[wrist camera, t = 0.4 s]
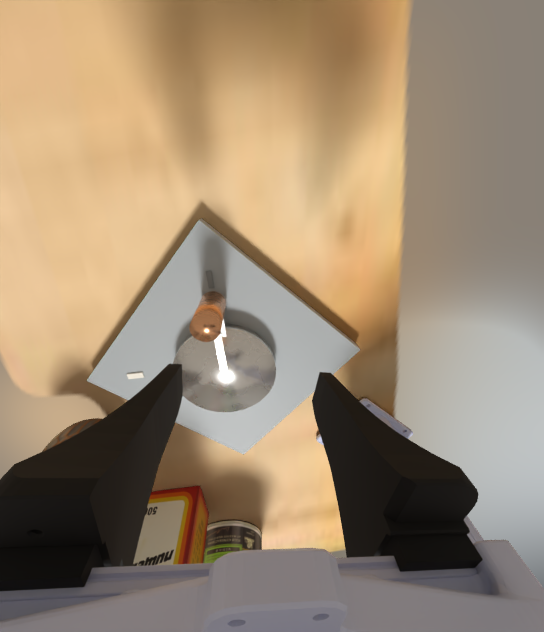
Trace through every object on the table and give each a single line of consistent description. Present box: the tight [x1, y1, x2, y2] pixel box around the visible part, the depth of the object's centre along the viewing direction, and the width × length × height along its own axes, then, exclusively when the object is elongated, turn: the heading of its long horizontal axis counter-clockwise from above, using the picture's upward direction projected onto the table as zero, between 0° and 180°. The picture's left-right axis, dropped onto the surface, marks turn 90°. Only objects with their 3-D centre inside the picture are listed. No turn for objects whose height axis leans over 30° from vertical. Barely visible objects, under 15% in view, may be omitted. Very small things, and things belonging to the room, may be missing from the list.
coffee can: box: [203, 520, 262, 563], centre depth 33 cm, size 10×10×14 cm
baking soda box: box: [133, 486, 209, 566], centre depth 27 cm, size 10×6×16 cm
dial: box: [173, 291, 276, 412], centre depth 21 cm, size 12×9×4 cm
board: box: [87, 218, 360, 454], centre depth 24 cm, size 18×18×1 cm
